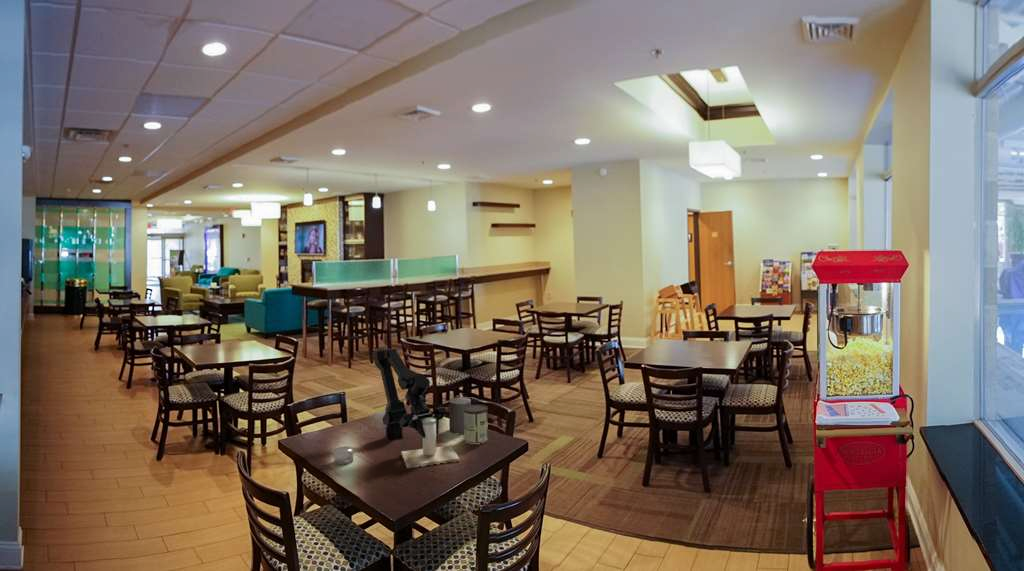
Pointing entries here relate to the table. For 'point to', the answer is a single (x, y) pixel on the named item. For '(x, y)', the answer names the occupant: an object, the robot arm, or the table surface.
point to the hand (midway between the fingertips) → (431, 435)
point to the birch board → (429, 457)
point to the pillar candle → (457, 414)
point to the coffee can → (475, 424)
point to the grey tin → (343, 455)
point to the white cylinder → (429, 436)
